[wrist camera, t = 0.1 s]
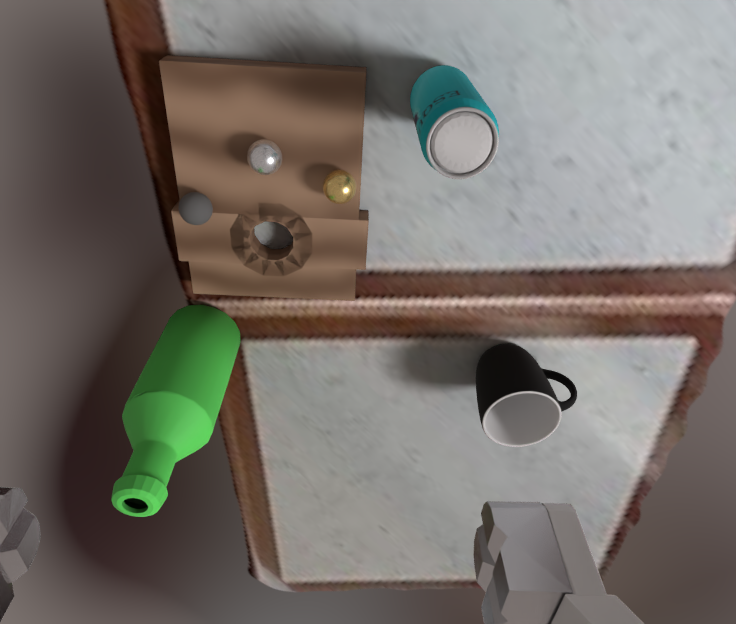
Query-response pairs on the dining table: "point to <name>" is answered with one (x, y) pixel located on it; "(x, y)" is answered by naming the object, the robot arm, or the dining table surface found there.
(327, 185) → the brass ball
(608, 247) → the dining table surface
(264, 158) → the steel ball
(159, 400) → the bottle
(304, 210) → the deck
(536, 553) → the robot arm
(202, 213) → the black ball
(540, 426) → the mug
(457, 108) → the beverage can
